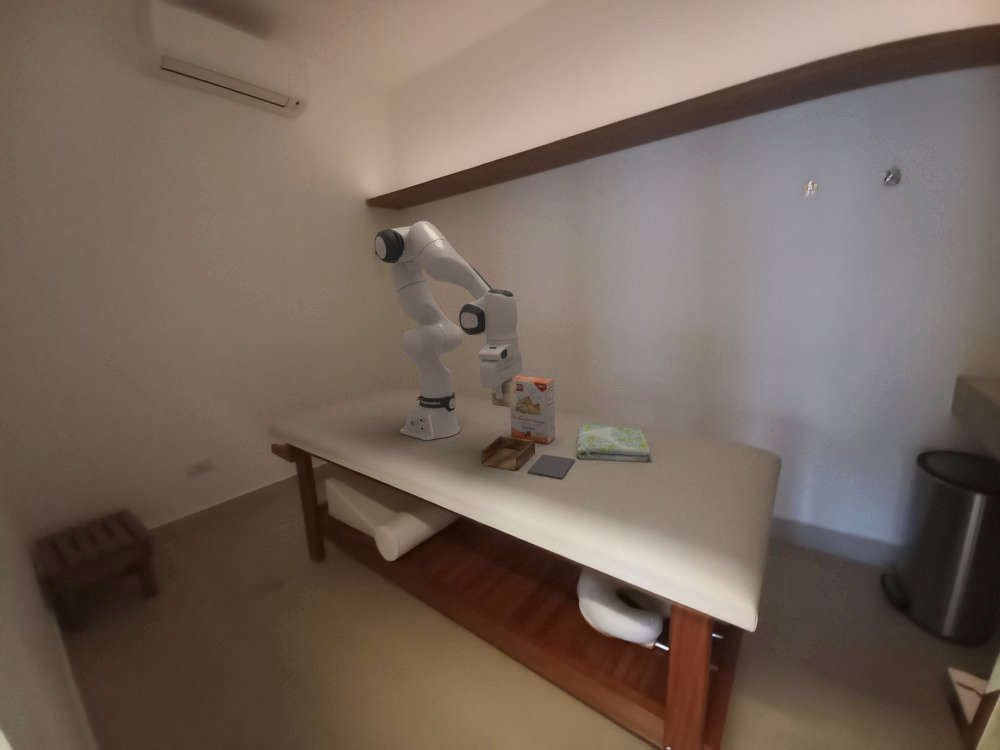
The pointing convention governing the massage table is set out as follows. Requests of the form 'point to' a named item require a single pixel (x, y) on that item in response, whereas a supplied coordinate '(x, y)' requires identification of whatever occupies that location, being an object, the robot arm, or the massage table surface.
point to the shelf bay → (508, 453)
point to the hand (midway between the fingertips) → (504, 395)
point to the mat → (551, 466)
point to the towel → (612, 443)
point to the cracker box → (533, 410)
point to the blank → (506, 395)
